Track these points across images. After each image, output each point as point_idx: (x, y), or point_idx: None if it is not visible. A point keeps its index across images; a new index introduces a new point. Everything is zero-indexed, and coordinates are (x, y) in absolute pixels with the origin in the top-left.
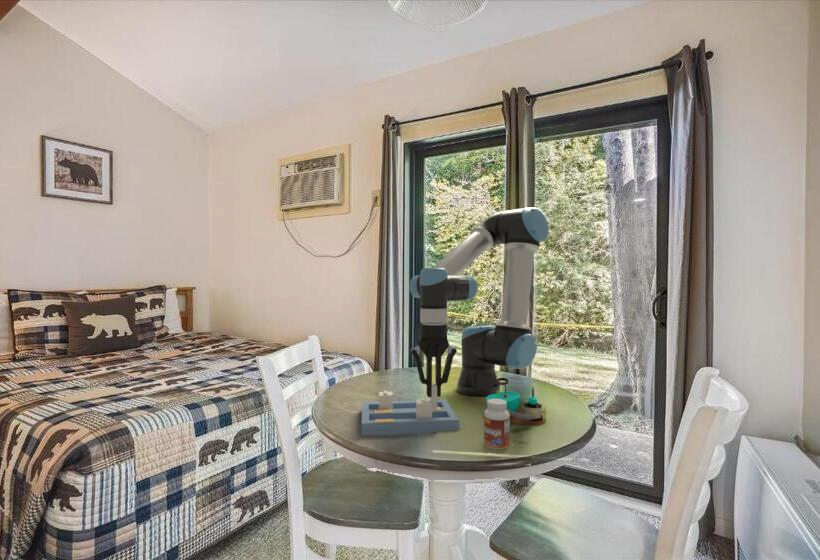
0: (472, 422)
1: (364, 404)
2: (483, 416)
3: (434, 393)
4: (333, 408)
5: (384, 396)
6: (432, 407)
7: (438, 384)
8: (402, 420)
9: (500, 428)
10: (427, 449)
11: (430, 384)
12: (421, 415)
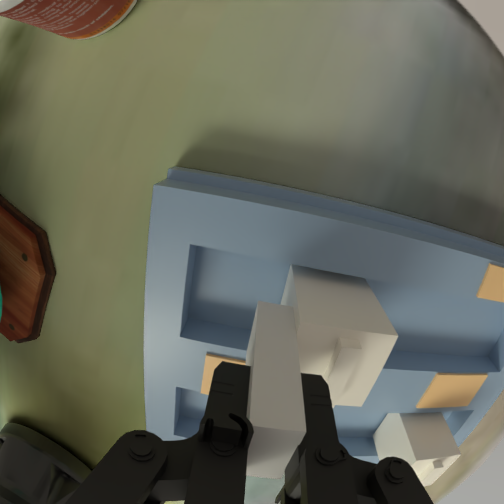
0: (86, 269)
1: None
2: (37, 283)
3: (276, 378)
4: (466, 459)
5: (444, 453)
6: (290, 314)
7: (239, 428)
8: (453, 272)
9: None
10: (395, 34)
11: (322, 447)
12: (355, 293)
